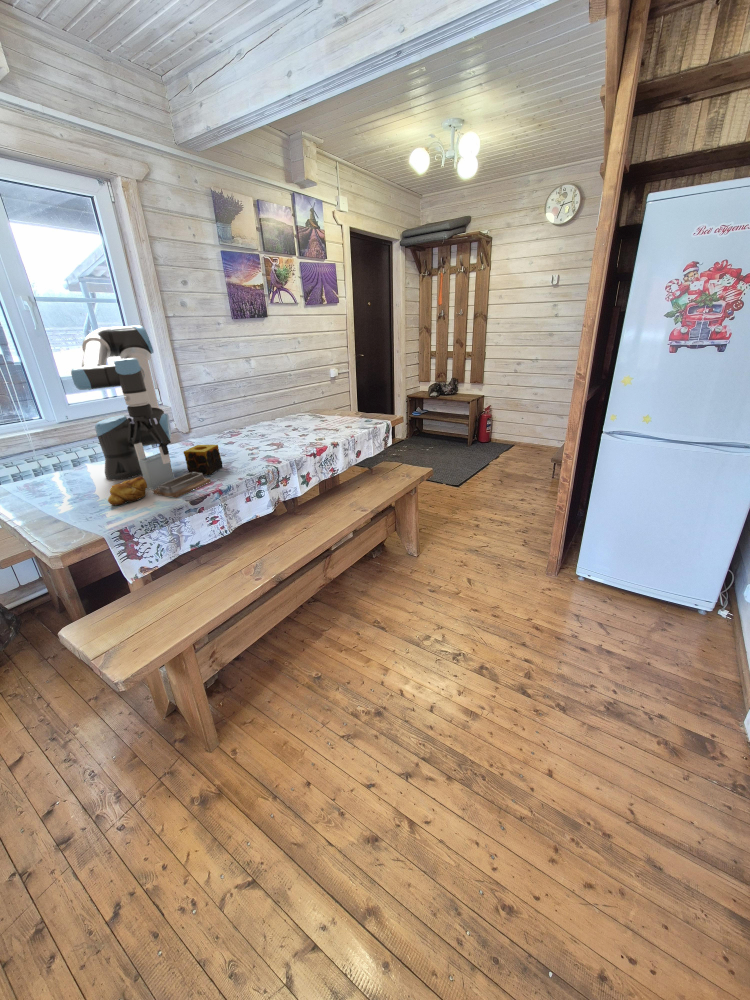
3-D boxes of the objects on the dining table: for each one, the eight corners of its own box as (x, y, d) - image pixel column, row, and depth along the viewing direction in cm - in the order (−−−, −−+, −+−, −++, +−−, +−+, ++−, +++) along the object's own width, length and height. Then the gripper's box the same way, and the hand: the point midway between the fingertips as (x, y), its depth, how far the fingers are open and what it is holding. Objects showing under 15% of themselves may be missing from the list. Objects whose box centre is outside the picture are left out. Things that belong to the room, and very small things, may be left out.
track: (153, 493, 151) (151, 485, 150) (188, 478, 164) (186, 470, 163) (176, 497, 146) (174, 489, 145) (211, 481, 159) (209, 474, 158)
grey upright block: (146, 488, 157) (138, 460, 153) (168, 479, 165) (161, 452, 161) (153, 489, 155) (145, 461, 151) (175, 480, 164) (168, 453, 159)
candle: (210, 475, 166) (204, 451, 162) (188, 475, 168) (182, 451, 164) (223, 467, 175) (218, 444, 171) (202, 467, 177) (197, 444, 173)
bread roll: (114, 510, 140) (107, 487, 137) (103, 503, 146) (96, 482, 142) (153, 497, 149) (147, 476, 146) (141, 491, 155) (135, 471, 151)
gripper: (106, 405, 150) (124, 461, 158) (152, 407, 140) (169, 467, 148) (125, 401, 156) (141, 456, 165) (171, 403, 146) (186, 461, 154)
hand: (154, 461), depth 156 cm, fingers open, 13 cm apart
